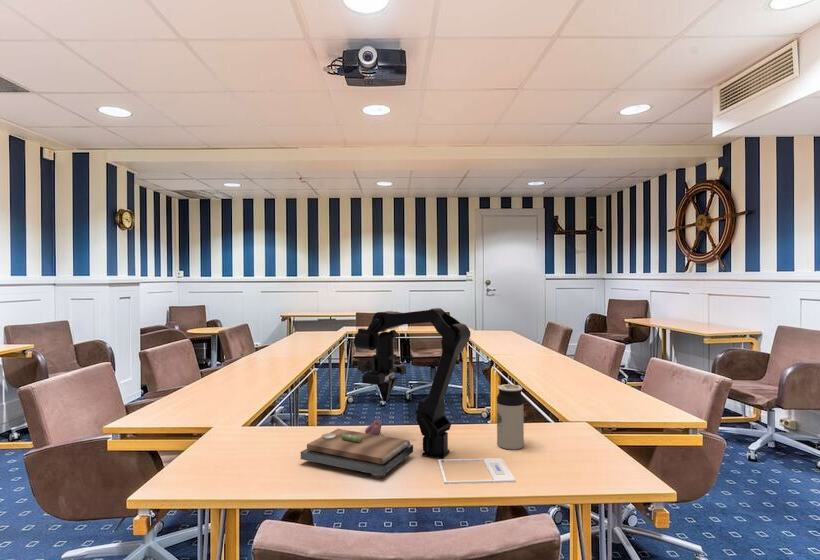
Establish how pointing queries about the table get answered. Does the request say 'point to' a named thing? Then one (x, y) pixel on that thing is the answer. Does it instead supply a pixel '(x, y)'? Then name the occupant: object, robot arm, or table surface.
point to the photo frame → (493, 465)
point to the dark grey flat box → (357, 461)
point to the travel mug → (510, 417)
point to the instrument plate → (359, 445)
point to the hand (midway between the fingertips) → (385, 401)
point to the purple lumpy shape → (374, 428)
